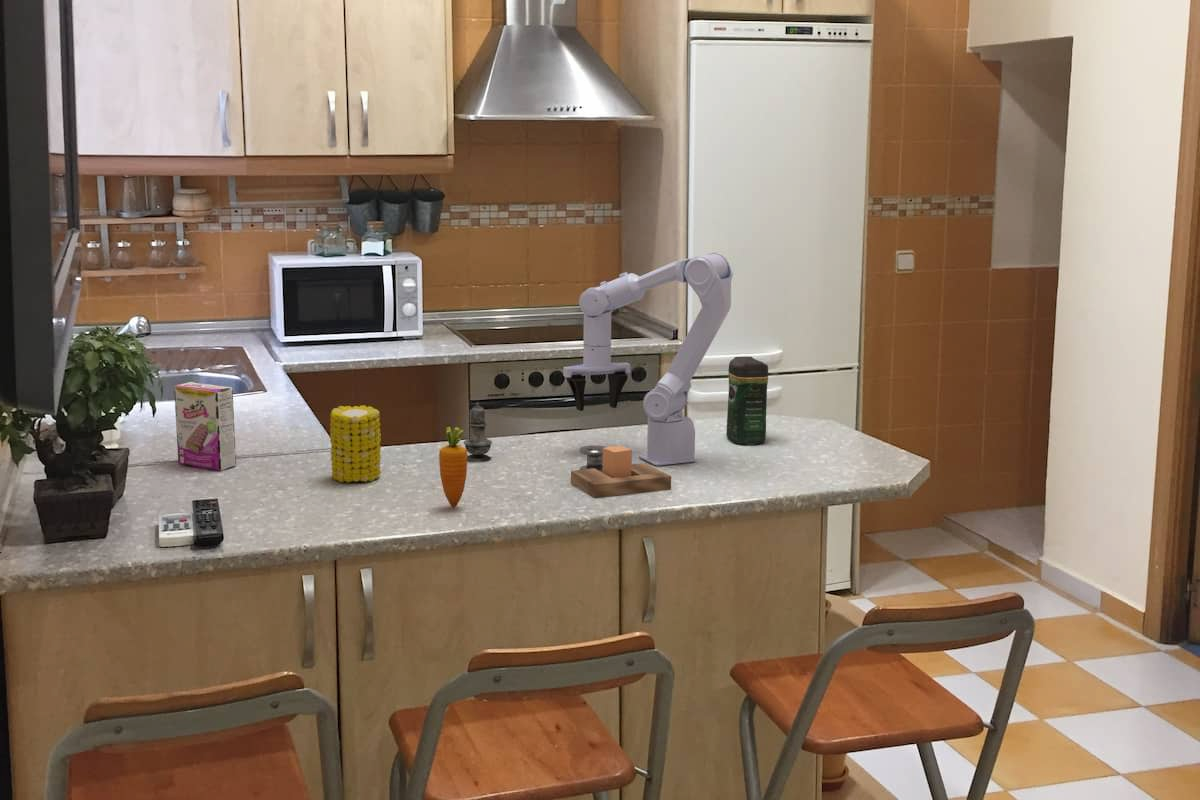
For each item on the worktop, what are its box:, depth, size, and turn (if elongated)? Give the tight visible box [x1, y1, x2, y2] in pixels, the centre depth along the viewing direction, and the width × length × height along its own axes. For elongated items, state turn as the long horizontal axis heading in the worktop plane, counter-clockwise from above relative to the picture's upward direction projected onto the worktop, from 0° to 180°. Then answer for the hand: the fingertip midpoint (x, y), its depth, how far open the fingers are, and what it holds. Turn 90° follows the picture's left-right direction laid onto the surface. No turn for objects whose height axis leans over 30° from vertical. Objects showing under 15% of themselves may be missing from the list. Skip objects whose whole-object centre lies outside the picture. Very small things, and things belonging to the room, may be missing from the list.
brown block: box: [603, 445, 633, 478], centre depth 252 cm, size 4×4×7 cm
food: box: [329, 405, 382, 483], centre depth 253 cm, size 15×12×10 cm
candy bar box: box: [173, 381, 237, 472], centre depth 261 cm, size 11×5×16 cm, turn 65°
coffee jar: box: [725, 356, 769, 446], centre depth 288 cm, size 10×8×19 cm
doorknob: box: [579, 444, 607, 473], centre depth 262 cm, size 6×6×5 cm
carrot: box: [438, 426, 468, 509], centre depth 234 cm, size 5×5×15 cm
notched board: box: [570, 462, 672, 499], centre depth 251 cm, size 16×11×2 cm
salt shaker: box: [463, 401, 493, 463], centre depth 270 cm, size 6×6×12 cm
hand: (596, 408), depth 276 cm, fingers open, 7 cm apart
